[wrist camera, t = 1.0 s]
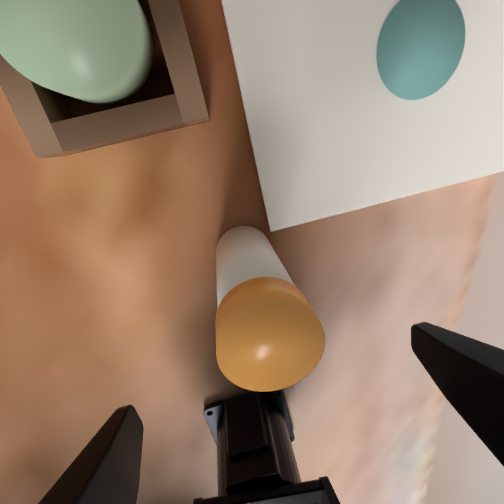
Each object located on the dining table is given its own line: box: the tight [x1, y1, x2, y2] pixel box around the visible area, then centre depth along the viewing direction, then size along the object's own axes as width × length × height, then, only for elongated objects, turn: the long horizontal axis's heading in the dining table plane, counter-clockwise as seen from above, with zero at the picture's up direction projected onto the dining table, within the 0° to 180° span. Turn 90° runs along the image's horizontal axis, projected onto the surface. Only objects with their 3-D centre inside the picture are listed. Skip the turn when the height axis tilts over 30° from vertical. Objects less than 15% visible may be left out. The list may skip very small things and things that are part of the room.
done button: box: [0, 0, 153, 105], centre depth 11 cm, size 5×5×3 cm
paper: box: [221, 0, 504, 232], centre depth 16 cm, size 14×16×1 cm
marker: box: [215, 226, 325, 392], centre depth 14 cm, size 4×4×9 cm
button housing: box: [0, 0, 209, 158], centre depth 13 cm, size 8×8×2 cm
